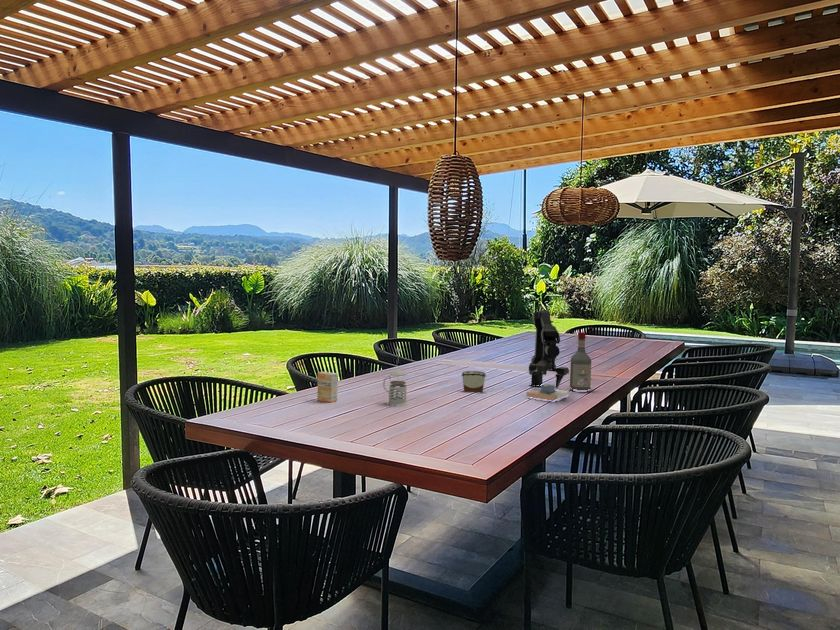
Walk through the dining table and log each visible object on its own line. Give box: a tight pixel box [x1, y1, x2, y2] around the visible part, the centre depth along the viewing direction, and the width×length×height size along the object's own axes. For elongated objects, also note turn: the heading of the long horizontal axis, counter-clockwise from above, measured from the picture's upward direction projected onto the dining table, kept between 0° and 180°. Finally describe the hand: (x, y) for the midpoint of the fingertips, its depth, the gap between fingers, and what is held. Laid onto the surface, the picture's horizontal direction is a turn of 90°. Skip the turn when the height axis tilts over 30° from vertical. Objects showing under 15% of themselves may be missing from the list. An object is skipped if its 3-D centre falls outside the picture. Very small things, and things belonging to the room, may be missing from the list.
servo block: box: [540, 383, 556, 394], centre depth 283 cm, size 9×4×6 cm, turn 140°
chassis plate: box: [526, 387, 570, 400], centre depth 283 cm, size 16×14×3 cm
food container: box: [460, 370, 487, 393], centre depth 296 cm, size 12×6×10 cm, turn 84°
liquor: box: [569, 331, 592, 390], centre depth 300 cm, size 9×9×30 cm
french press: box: [382, 348, 409, 406], centre depth 266 cm, size 10×12×25 cm
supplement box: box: [316, 370, 339, 404], centre depth 269 cm, size 8×5×13 cm, turn 62°
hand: (548, 386), depth 283 cm, fingers open, 9 cm apart
